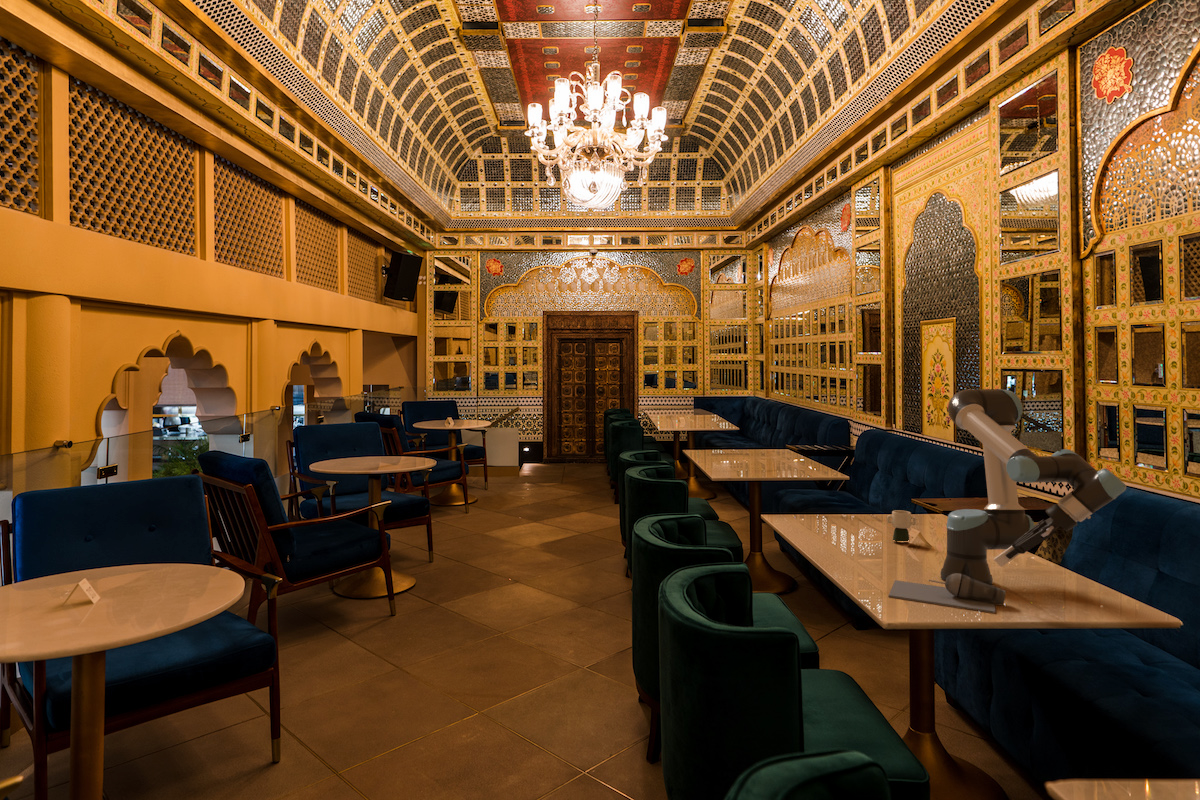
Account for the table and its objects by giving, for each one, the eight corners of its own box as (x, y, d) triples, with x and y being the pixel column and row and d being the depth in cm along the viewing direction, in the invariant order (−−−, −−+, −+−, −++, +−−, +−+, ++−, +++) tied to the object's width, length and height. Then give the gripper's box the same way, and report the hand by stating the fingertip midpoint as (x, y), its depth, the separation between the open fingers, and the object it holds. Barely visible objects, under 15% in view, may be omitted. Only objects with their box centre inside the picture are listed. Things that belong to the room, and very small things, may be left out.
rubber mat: (888, 597, 198) (888, 595, 198) (894, 581, 213) (894, 580, 213) (995, 613, 184) (995, 611, 184) (993, 596, 199) (993, 594, 199)
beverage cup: (1006, 592, 186) (930, 570, 196) (1001, 614, 188) (926, 592, 198) (1006, 581, 192) (932, 561, 202) (1001, 603, 194) (928, 582, 204)
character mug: (914, 542, 268) (915, 511, 268) (916, 546, 262) (916, 514, 262) (886, 539, 272) (886, 509, 272) (887, 543, 266) (887, 512, 266)
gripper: (1082, 527, 175) (1008, 578, 184) (1075, 519, 186) (1006, 567, 195) (1058, 506, 178) (987, 557, 186) (1054, 499, 189) (986, 548, 198)
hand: (997, 562), depth 191 cm, fingers closed
